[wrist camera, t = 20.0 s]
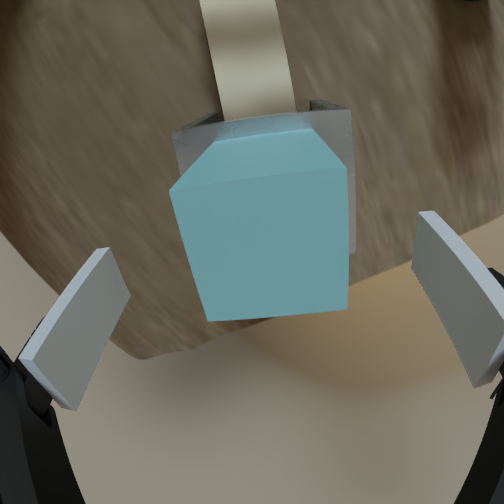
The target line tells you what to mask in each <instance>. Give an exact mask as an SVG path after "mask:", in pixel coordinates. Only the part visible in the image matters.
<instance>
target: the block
mask: <svg viewBox="0 0 504 504" xmlns="http://www.w3.org/2000/svg"><path fill="white" fill-rule="evenodd" d="M169 193H170V197H171V201H172V204H173V208H174V212H175V215H176V219H177V222H178V226H179V229H180V233H181V236H182V240H183V243H184V247H185V250H186V253H187V257H188V260H189V263H190V267H191V270H192V273H193V277H194V280H195V283H196V286H197V289H198V292H199V296H200V299H201V302H202V305H203V308H204V311H205V314H206V317H207V320H208V321H225V320H240V319H254V318H267V317H278V316H289V315H300V314H309V313H318V312H328V311H336V310H345V309H348V280H349V216H348V187H347V168H346V167H345V165H344V164H343V163H342V162H341V161H340V159H339V158H338V157H337V156H336V155H335V154H334V152H333V151H332V150H331V149H330V148H329V147H328V146H327V144H326V143H325V142H324V141H323V140H322V139H321V138H320V137H319V135H318V134H317V133H316V132H315V131H314V130H313V129H306V130H296V131H287V132H278V133H270V134H262V135H255V136H248V137H241V138H235V139H229V140H222V141H217V142H213V143H212V144H211V145H210V146H209V148H208V149H207V150H206V151H205V152H204V153H203V154H202V155H201V156H200V157H199V158H198V159H197V160H196V161H195V162H194V163H193V164H192V166H191V167H190V168H189V169H188V170H187V171H186V172H185V173H184V174H183V175H182V177H181V178H180V179H179V180H178V181H177V182H176V183H175V184H174V185H173V187H172V188H171V189H170V190H169Z"/></svg>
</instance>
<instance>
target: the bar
mask: <svg viewBox="0 0 504 504" xmlns="http://www.w3.org/2000/svg"><path fill="white" fill-rule="evenodd" d="M200 5H201V10H202V15H203V19H204V24H205V29H206V34H207V38H208V43H209V48H210V53H211V58H212V62H213V67H214V72H215V77H216V81H217V86H218V91H219V96H220V101H221V105H222V110H223V115H224V120H225V121H227V120H234V119H240V118H247V117H254V116H261V115H269V114H277V113H286V112H296V106H295V100H294V94H293V89H292V83H291V77H290V72H289V66H288V61H287V56H286V51H285V46H284V41H283V36H282V31H281V26H280V22H279V17H278V12H277V8H276V4H275V0H200Z"/></svg>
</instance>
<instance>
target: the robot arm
mask: <svg viewBox="0 0 504 504" xmlns="http://www.w3.org/2000/svg"><path fill="white" fill-rule="evenodd" d="M412 270H413V272H414V273H415V275H416V277H417V278H418V280H419V282H420V283H421V285H422V287H423V289H424V290H425V292H426V294H427V296H428V297H429V299H430V301H431V303H432V304H433V306H434V308H435V310H436V312H437V313H438V315H439V317H440V319H441V321H442V323H443V325H444V326H445V329H446V330H447V333H448V334H449V336H450V338H451V340H452V342H453V344H454V347H455V349H456V351H457V353H458V355H459V357H460V359H461V361H462V363H463V365H464V367H465V370H466V372H467V374H468V376H469V379H470V381H471V383H472V385H473V388H477V387H480V386H482V385H485V384H487V383H490V382H492V381H493V379H494V377H495V376H496V374H497V372H498V371H500V373H501V375H502V377H503V378H502V380H501V381H500V383H499V384H498V386H497V387H496V389H495V390H494V392H493V393H492V395H491V397H490V399H493V397H494V396H495V394H496V393H497V394H496V398H495V402H494V405H493V409H492V412H491V415H490V418H489V421H488V424H487V427H486V430H485V433H484V436H483V439H482V442H481V444H480V447H479V450H478V452H477V455H476V457H475V460H474V462H473V464H472V467H471V469H470V471H469V474H468V476H467V478H466V480H465V482H464V484H463V486H462V489H461V491H460V493H459V495H458V497H457V499H456V500H455V502H454V504H504V276H503V275H501V274H500V273H499V272H497V271H496V270H494V269H493V268H486V267H485V266H484V264H483V263H482V262H481V261H480V260H479V258H478V257H477V256H476V255H475V254H474V253H473V252H472V250H471V249H470V248H469V247H468V246H467V245H466V244H465V243H464V242H463V241H462V239H460V237H459V236H458V235H457V234H456V233H455V232H454V231H453V230H452V229H451V228H450V227H449V226H448V225H447V224H446V223H445V222H444V221H443V220H442V218H441V217H440V216H439V215H438V214H437V213H436V212H434V211H423V212H418V218H417V228H416V237H415V245H414V253H413V260H412ZM129 298H130V293H129V291H128V289H127V287H126V284H125V282H124V280H123V278H122V275H121V273H120V271H119V268H118V266H117V264H116V261H115V259H114V256H113V254H112V251H111V249H110V247H107V248H100V249H96V250H95V251H94V253H93V254H92V255H91V256H90V258H89V259H88V260H87V261H86V263H85V264H84V265H83V266H82V268H81V269H80V270H79V271H78V273H77V274H76V275H75V277H74V278H73V279H72V281H71V282H70V283H69V284H68V286H67V287H66V288H65V290H64V291H63V293H62V294H61V295H60V297H59V298H58V299H57V301H56V302H55V304H54V305H53V306H52V308H51V309H50V311H49V312H48V314H47V315H46V316H45V317H44V318H43V319H42V320H41V321H40V323H39V324H38V326H37V327H36V330H34V332H33V333H32V335H31V337H30V338H29V339H28V341H27V342H26V344H25V345H24V347H23V349H22V350H21V352H20V353H19V355H18V357H17V358H16V360H15V362H14V363H13V362H12V360H11V359H10V358H9V356H8V355H7V354H6V353H5V351H4V350H3V349H2V348H1V346H0V504H85V501H84V499H83V497H82V494H81V492H80V489H79V487H78V484H77V481H76V479H75V476H74V473H73V471H72V468H71V465H70V462H69V459H68V456H67V453H66V449H65V446H64V443H63V439H62V436H61V432H60V429H59V425H58V421H57V417H56V413H55V410H54V408H53V407H52V406H51V405H50V403H51V401H52V399H54V400H55V401H56V402H57V403H58V404H59V405H60V407H61V408H65V409H69V410H74V411H77V408H78V406H79V404H80V401H81V399H82V396H83V394H84V392H85V390H86V387H87V385H88V383H89V381H90V378H91V376H92V374H93V371H94V369H95V367H96V365H97V363H98V361H99V358H100V356H101V354H102V352H103V350H104V348H105V346H106V344H107V342H108V340H109V338H110V336H111V334H112V331H113V329H114V327H115V325H116V323H117V321H118V319H119V317H120V316H121V314H122V312H123V310H124V308H125V306H126V304H127V302H128V300H129Z"/></svg>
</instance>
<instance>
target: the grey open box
mask: <svg viewBox="0 0 504 504" xmlns="http://www.w3.org/2000/svg"><path fill="white" fill-rule="evenodd" d="M310 102H311V110H307V111H296V112H286V113H277V114H269V115H261V116H254V117H247V118H240V119H234V120H227V121H221V122H220V120H219V115H218V112H217V113H211V114H207V115H205V116H203V117H201V118H199V119H197V120H195V121H193V122H191V123H189V124H187V125H185V126H183V127H181V128H179V129H178V130H176V131H174V132H172V133H171V135H172V139H173V144H174V148H175V153H176V157H177V161H178V166H179V170H180V174H181V177H182V175H183V174H184V173H185V172H186V171H187V170H188V169H189V168H190V167H191V166H192V164H193V163H194V162H195V161H196V160H197V159H198V158H199V157H200V156H201V155H202V154H203V153H204V152H205V151H206V150H207V149H208V148H209V146H210V145H211V144H212V143H213V142H217V141H222V140H229V139H235V138H241V137H248V136H255V135H262V134H270V133H278V132H287V131H296V130H306V129H313V130H314V131H315V132H316V133H317V134H318V135H319V137H320V138H321V139H322V140H323V141H324V142H325V143H326V144H327V146H328V147H329V148H330V149H331V150H332V151H333V152H334V154H335V155H336V156H337V157H338V158H339V159H340V161H341V162H342V163H343V164H344V165H345V167H346V168H347V187H348V216H349V254H351V253H356V194H355V166H354V148H353V133H352V121H351V110H350V109H348V108H345V107H342V106H339V105H336V104H333V103H330V102H327V101H323V100H310Z"/></svg>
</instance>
